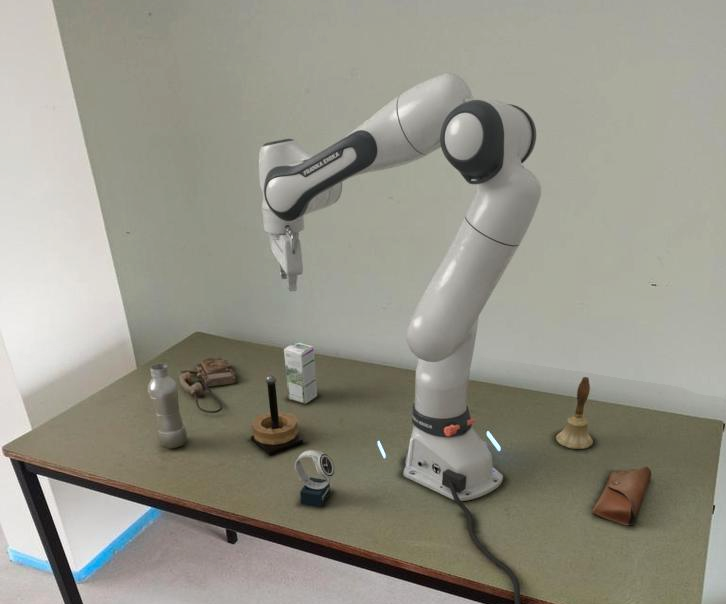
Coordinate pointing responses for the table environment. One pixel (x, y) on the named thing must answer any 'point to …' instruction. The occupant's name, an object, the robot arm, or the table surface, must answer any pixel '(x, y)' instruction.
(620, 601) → the table surface
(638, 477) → the sunglasses case
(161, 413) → the plastic bottle
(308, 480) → the watch
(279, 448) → the stand
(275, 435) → the ring
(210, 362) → the telephone
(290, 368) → the syrup box
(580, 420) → the hand bell
